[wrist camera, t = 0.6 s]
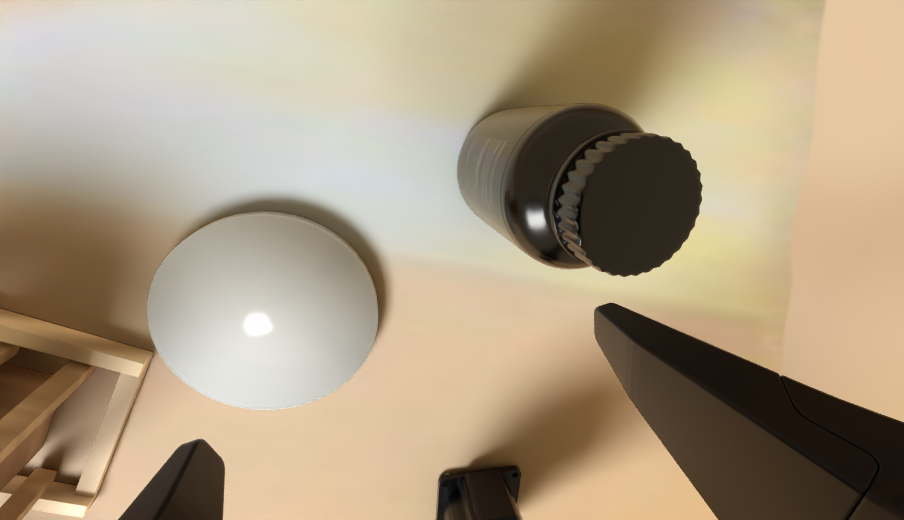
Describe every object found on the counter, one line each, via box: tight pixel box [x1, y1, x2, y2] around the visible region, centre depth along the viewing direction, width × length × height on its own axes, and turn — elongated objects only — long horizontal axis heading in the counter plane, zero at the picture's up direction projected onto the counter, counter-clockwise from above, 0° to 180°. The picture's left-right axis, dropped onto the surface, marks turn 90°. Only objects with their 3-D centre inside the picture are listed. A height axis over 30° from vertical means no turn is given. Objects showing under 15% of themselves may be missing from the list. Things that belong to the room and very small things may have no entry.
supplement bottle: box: [457, 103, 702, 277], centre depth 19 cm, size 7×7×12 cm
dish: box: [147, 211, 378, 410], centre depth 24 cm, size 12×12×1 cm
